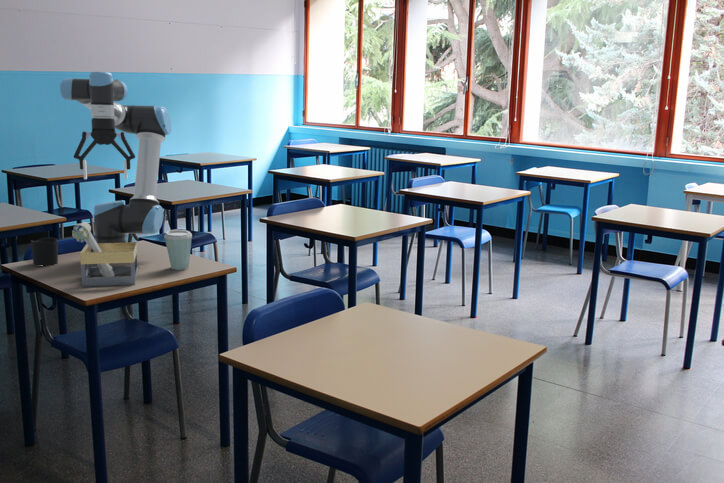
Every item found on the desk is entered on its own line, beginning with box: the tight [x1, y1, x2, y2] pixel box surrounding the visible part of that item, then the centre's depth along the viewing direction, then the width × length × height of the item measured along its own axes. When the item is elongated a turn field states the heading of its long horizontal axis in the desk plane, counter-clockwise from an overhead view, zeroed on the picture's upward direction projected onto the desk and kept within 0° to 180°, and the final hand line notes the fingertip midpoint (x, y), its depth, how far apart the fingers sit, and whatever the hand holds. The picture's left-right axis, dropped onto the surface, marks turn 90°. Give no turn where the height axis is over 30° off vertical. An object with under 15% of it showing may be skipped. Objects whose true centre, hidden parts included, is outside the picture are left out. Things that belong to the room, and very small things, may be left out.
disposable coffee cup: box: [163, 229, 193, 271], centre depth 260 cm, size 11×11×15 cm
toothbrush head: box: [71, 221, 116, 277], centre depth 235 cm, size 5×7×25 cm
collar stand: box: [79, 241, 139, 288], centre depth 242 cm, size 18×18×12 cm
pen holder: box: [30, 237, 59, 267], centre depth 263 cm, size 9×9×10 cm
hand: (106, 178), depth 236 cm, fingers open, 13 cm apart
